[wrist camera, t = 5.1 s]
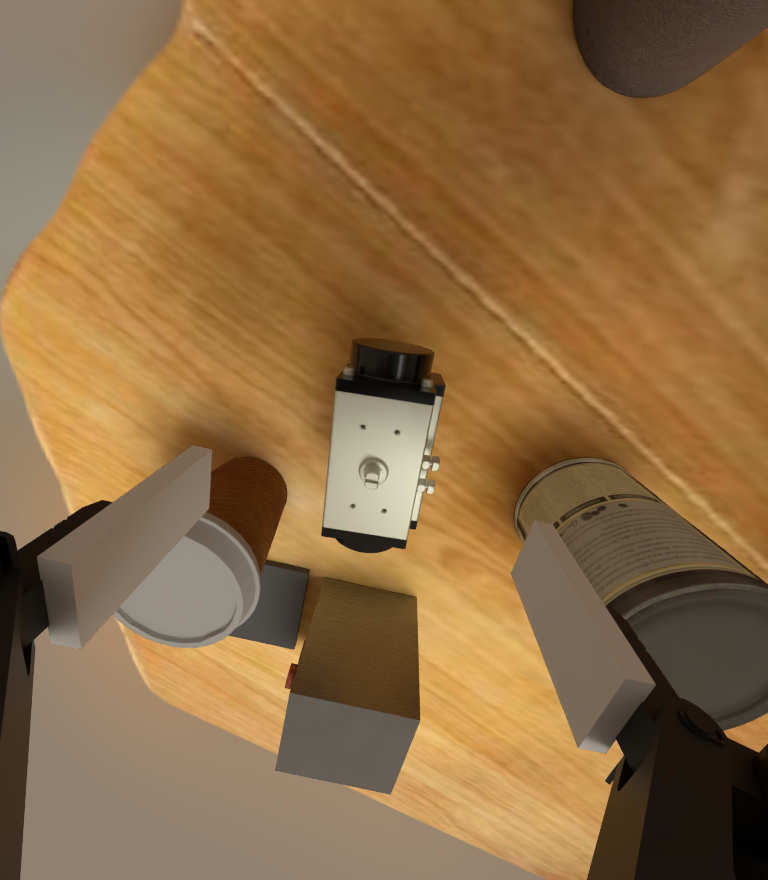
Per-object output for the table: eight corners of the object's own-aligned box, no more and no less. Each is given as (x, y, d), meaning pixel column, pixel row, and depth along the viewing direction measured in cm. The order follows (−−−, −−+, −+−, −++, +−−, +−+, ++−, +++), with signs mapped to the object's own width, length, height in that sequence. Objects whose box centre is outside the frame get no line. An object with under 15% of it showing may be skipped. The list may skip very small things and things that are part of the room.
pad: (204, 546, 35) (201, 550, 34) (309, 569, 35) (308, 574, 34) (200, 624, 38) (197, 628, 38) (295, 644, 39) (294, 649, 38)
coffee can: (669, 489, 30) (875, 641, 17) (588, 578, 33) (705, 761, 20) (561, 434, 29) (689, 550, 16) (489, 532, 32) (544, 694, 19)
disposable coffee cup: (231, 415, 30) (125, 488, 19) (327, 484, 32) (283, 587, 20) (178, 495, 33) (60, 598, 22) (268, 553, 35) (202, 676, 23)
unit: (318, 575, 35) (281, 690, 25) (419, 598, 35) (424, 721, 25) (304, 642, 38) (267, 768, 28) (398, 662, 39) (394, 795, 28)
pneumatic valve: (348, 471, 31) (314, 570, 20) (365, 327, 27) (334, 349, 16) (413, 481, 31) (416, 586, 20) (441, 338, 27) (465, 369, 16)
